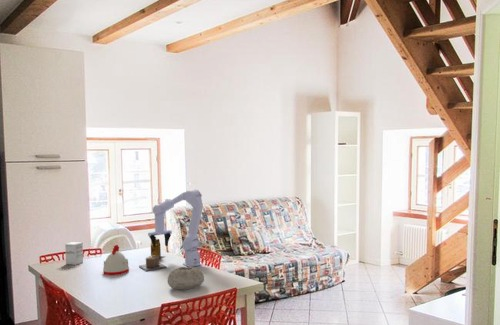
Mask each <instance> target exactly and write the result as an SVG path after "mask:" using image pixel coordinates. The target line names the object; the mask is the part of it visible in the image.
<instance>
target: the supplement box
mask: <svg viewBox="0 0 500 325" xmlns="http://www.w3.org/2000/svg"><path fill="white" fill-rule="evenodd" d="M64 245H65V249H64V250H65V265H73V266H76V265H79V264H82V263H83V262H84V252H83V251H84V250H83V247H84V246H83V242H80V241H79V242H78V241H71V242H68V243H65V244H64Z"/></svg>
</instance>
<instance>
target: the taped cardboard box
mask: <svg viewBox="0 0 500 325" xmlns="http://www.w3.org/2000/svg"><path fill="white" fill-rule="evenodd" d="M159 263H160V259H159V256H155V255H153V256H151V255H149V256H147V257H145V264H146V267H156V266H157V265H159Z"/></svg>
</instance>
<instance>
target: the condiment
mask: <svg viewBox="0 0 500 325" xmlns="http://www.w3.org/2000/svg"><path fill="white" fill-rule="evenodd" d="M160 241H161V240H160V239H159V238H156V242H155V243H156V248H154V247H153V244H152V241H151V240H150V256H153V255H155V256H159V260H161V259H163V258H165V257H166V256H164V255H163V256H162V254H161V253H162V252H161V242H160Z"/></svg>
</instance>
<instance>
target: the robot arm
mask: <svg viewBox="0 0 500 325" xmlns="http://www.w3.org/2000/svg"><path fill="white" fill-rule="evenodd" d="M202 196H203V195H202V193H201V192H200V191H199V190H198V189H193V190H186V191H185V192H181V193H180V194H178V195H177V196H175V197H174V198H172V199H170V198H166V199H164V201H162V202H159V204H155V205H154V206H153V207H152V213H153V214H154V231H151V232H147V236H148V237H149V239H150V242H151V241H152V244H153V247H154V248H156V243H155V242H156V239H157V236H159V235H160V236H161V235H164V236H163V237H164V245H165V246H166V247H169V246H168V245H169V241H170V238H171V236H172V234H173V233H172V232H173V230H171V229H169V230H167V229H166V228H165V226H166V224H165V213H166V212H167V211H169V210H172V209H173V208H174V207H175V205H176V204H178V203H180V202H182V201H185V202H187V204H189V205H190V206H191V207H192V212H191V215H190V216H191V217H190V221H189V226H188V232H187V234H186V235H185V237H184V240H183V241H182V243H181V244H182V248H183V249H184V261H185V262H183V263H182V265H183V266H185V267H197V266H198V267H199V266H202V264H201V257H200V256H201V255H200V253H199V251H198V246H199V245H200V239H199V238H200V237H199V235H198V231H199V226H200V223H201V216H202V212H203V206H204V205H203V204H204V203H203V200H202ZM165 229H166V230H165Z"/></svg>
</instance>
